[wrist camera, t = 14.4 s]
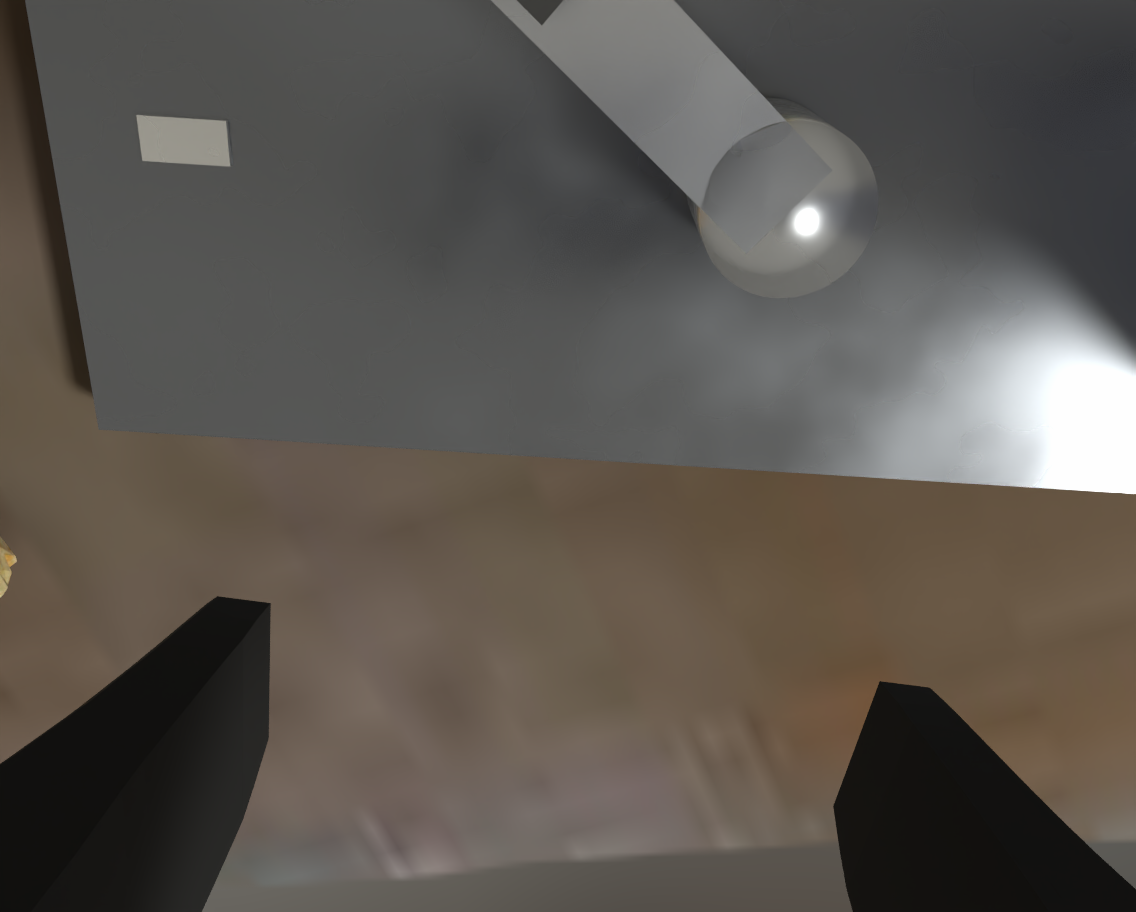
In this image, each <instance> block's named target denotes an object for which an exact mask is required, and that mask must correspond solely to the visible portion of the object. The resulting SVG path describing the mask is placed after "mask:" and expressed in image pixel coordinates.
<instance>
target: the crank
mask: <svg viewBox="0 0 1136 912" xmlns="http://www.w3.org/2000/svg"><path fill="white" fill-rule="evenodd" d="M491 1H492V2H493V3H494V4H495V5H496V6H497V7H498V8H499V9H500V10H501V11H502V12H503V13H504V14H505V15H506V16H507V17H508V18H509V19H510V20H511V21H512V22H513V23H514V24H515V25H516V26H517V27H518V28H519V29H520V30H521V31H522V32H523V33H524V34H525V35H526V36H527V37H528V38H529V39H530V40H531V41H533V42H534V43H535V44H536V45H537V46H538V47H539V48H540V49H541V50H542V51H543V52H544V53H545V54H546V55H547V56H548V57H549V58H550V59H551V60H552V61H553V62H554V63H555V64H556V65H557V66H558V67H559V68H560V69H561V70H562V71H563V72H564V73H565V74H566V75H567V76H568V77H569V78H570V79H571V80H572V81H573V82H574V83H575V84H576V85H577V86H578V87H579V88H580V89H581V90H582V91H583V92H584V93H585V94H586V95H587V96H588V97H589V98H590V99H591V100H592V101H593V102H594V103H595V104H596V105H597V106H598V107H599V108H600V109H601V110H602V111H603V112H604V113H605V114H606V115H607V116H608V117H609V118H610V119H611V120H612V121H613V122H614V123H615V124H616V125H617V126H618V127H619V128H620V129H621V130H622V131H623V132H624V133H625V134H626V135H627V136H628V137H629V138H630V139H631V140H632V141H633V142H634V143H635V144H636V145H637V146H638V147H639V148H640V149H641V150H642V151H643V152H644V153H645V154H646V155H647V156H648V157H649V158H650V159H651V160H652V161H653V162H654V163H655V164H656V165H657V166H658V167H659V168H660V169H661V170H662V171H663V172H664V173H665V174H666V175H667V176H668V177H669V178H670V179H671V180H672V181H673V182H674V183H675V184H677V185H678V186H679V187H680V188H681V189H682V190H683V191H684V192H685V193H686V197H687V202H688V205H689V208H690V211H691V214H692V216H693V219H694V221H695V224H696V226H697V229H698V231H699V234H700V236H701V239H702V241H703V244H704V246H705V249H706V251H707V253H708V255H709V257H710V259H711V261H712V262H713V264H714V265H715V267H716V268H717V269H718V270H719V271H720V272H721V274H722V275H723V276H724V277H725V278H727V279H728V280H729V281H730V282H731V283H733V284H734V285H736V286H738V287H739V288H741V289H743V290H745V291H747V292H750V293H752V294H756V295H759V296H763V297H769V298H792V297H798V296H803V295H807V294H809V293H812V292H815V291H818V290H820V289H822V288H824V287H826V286H828V285H829V284H831V283H832V282H834V281H836V280H837V279H838V278H840V277H841V276H842V275H843V274H844V273H846V272H847V271H848V270H849V269H850V268H851V267H852V266H853V265H854V263H855V262H856V261H857V260H858V258H859V257H860V256H861V254H862V253H863V251H864V249H865V248H866V246H867V244H868V242H869V240H870V238H871V236H872V233H873V230H874V227H875V224H876V219H877V213H878V188H877V183H876V179H875V175H874V172H873V170H872V167H871V165H870V163H869V161H868V160H867V158H866V156H865V155H864V153H863V152H862V151H861V149H860V148H859V147H858V146H857V145H856V144H855V143H854V142H853V141H852V140H851V139H850V138H848V137H847V136H846V135H844V134H843V133H841V132H840V131H838V130H837V129H836V128H834V127H833V126H831V125H830V124H828V123H827V122H826V121H824V120H823V119H821V118H820V117H818V116H817V115H816V114H814V113H813V112H811V111H810V110H808V109H807V108H805V107H803V106H801V105H799V104H797V103H795V102H792V101H789V100H784V99H779V98H765V97H764V96H763V95H762V94H761V93H760V92H759V91H758V90H757V89H756V88H755V87H754V86H753V85H752V84H751V82H750V81H749V80H748V79H747V78H746V77H745V76H744V75H743V74H742V73H741V72H740V71H739V70H738V69H737V67H736V66H735V65H734V64H733V63H732V62H731V61H730V60H729V59H728V58H727V57H726V56H725V55H724V54H723V52H722V51H721V50H720V49H719V48H718V47H717V46H716V45H715V44H714V43H713V42H712V41H711V40H710V39H709V37H708V36H707V35H706V34H705V33H704V32H703V31H702V30H701V29H700V28H699V27H698V26H697V25H696V24H695V23H694V21H693V20H692V19H691V18H690V17H689V16H688V15H687V14H686V13H685V12H684V11H683V10H682V9H681V8H680V6H679V5H678V4H677V3H676V2H675V1H674V0H491Z"/></svg>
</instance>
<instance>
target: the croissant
mask: <svg viewBox="0 0 1136 912" xmlns="http://www.w3.org/2000/svg"><path fill="white" fill-rule="evenodd" d="M15 562H17V560H16V557H15V555H14V554H13V552H12V551H11V550H10V548H9V547H8V546H7V544H6V543H5V542H4V541H3V539H2V538H1V537H0V597H2V595H3V594H4V592H5V591H6V590H7V588H8V583H9V580H10V577H11V573H12V572H11V569H10V567H11V566H12V565H13V564H14V563H15Z"/></svg>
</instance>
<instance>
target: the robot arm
mask: <svg viewBox="0 0 1136 912" xmlns="http://www.w3.org/2000/svg"><path fill="white" fill-rule="evenodd" d="M270 604H271V603H265V602H257V601H249V600H241V599H233V598H226V597H218V596H217V597H216V598H214V599H213V600H212V601H210V602H209V603H207V604H206V605H205V606H204V607H202V608H201V609H200V610H199V611H198V612H196V613H195V614H194V615H193V616H192V617H190V618H189V619H188V620H187V621H186V622H184V623H183V624H182V625H181V626H180V627H178V628H177V629H176V630H175V631H174V632H173V633H171V634H170V635H169V636H168V637H167V638H165V639H164V640H163V641H162V642H161V643H159V644H158V645H157V646H156V647H155V648H153V649H152V650H151V651H150V652H148V653H147V654H146V655H145V656H144V657H142V658H141V659H140V660H139V661H138V662H136V663H135V664H134V665H133V666H131V667H130V668H129V669H128V670H126V671H125V672H124V673H123V674H121V675H120V676H119V677H117V678H116V679H115V680H114V681H112V682H111V683H110V684H108V685H107V686H106V687H105V688H103V689H102V690H101V691H100V692H98V693H97V694H96V695H94V696H93V697H92V698H91V699H89V700H88V701H87V702H86V703H84V704H83V705H82V706H80V707H79V708H78V709H76V710H75V711H74V712H72V713H71V714H70V715H68V716H67V717H66V718H64V719H63V720H61V721H60V722H59V723H57V724H56V725H54V726H53V727H52V728H50V729H49V730H47V731H46V732H45V733H43V734H42V735H40V736H39V737H38V738H36V739H35V740H33V741H32V742H31V743H29V744H28V745H26V746H25V747H23V748H22V749H21V750H19V751H18V752H16V753H15V754H14V755H12V756H11V757H9V758H8V759H7V760H5V761H4V762H2V763H1V764H0V912H202V910H203V908H204V906H205V903H206V901H207V899H208V897H209V895H210V892H211V890H212V888H213V886H214V883H215V881H216V879H217V877H218V875H219V872H220V870H221V868H222V866H223V863H224V861H225V859H226V857H227V854H228V852H229V850H230V848H231V845H232V843H233V841H234V839H235V836H236V834H237V832H238V830H239V827H240V825H241V823H242V820H243V818H244V815H245V812H246V809H247V806H248V802H249V799H250V796H251V793H252V790H253V787H254V784H255V781H256V778H257V774H258V771H259V768H260V764H261V761H262V758H263V755H264V751H265V748H266V745H267V742H268V738H269V672H270ZM833 807H834V814H835V821H836V827H837V834H838V841H839V848H840V854H841V860H842V866H843V871H844V877H845V882H846V888H847V892H848V896H849V899H850V903H851V906H852V910H853V912H1136V889H1135V888H1134V887H1133V886H1131V885H1130V884H1129V883H1128V882H1127V881H1126V880H1125V879H1124V878H1123V877H1122V876H1120V875H1119V874H1118V873H1117V872H1116V871H1115V870H1114V869H1113V868H1112V867H1111V866H1109V865H1108V864H1107V863H1106V862H1105V861H1104V860H1103V859H1102V858H1101V857H1100V856H1099V855H1098V854H1096V853H1095V852H1094V851H1093V850H1092V849H1091V848H1090V847H1089V846H1088V845H1087V844H1086V843H1085V842H1084V841H1083V840H1082V839H1081V838H1080V837H1079V836H1078V835H1077V834H1076V833H1074V832H1073V831H1072V830H1071V829H1070V828H1069V827H1068V826H1067V825H1066V824H1065V823H1064V822H1063V821H1062V820H1061V819H1060V818H1059V817H1058V816H1057V815H1056V814H1055V813H1054V812H1053V811H1052V810H1051V809H1050V808H1049V807H1048V806H1047V805H1046V804H1045V803H1044V802H1043V801H1042V800H1041V799H1040V798H1039V797H1038V796H1037V795H1036V794H1035V793H1034V792H1033V791H1032V790H1031V789H1030V788H1029V787H1028V786H1027V785H1026V784H1025V783H1024V782H1023V781H1022V780H1021V779H1020V778H1019V777H1018V776H1017V775H1016V774H1015V773H1014V772H1013V771H1012V770H1011V769H1010V768H1009V767H1008V765H1007V764H1006V763H1005V762H1004V761H1003V760H1002V759H1001V758H1000V757H999V756H998V755H997V754H996V753H995V752H994V751H993V750H992V749H991V748H990V747H989V746H988V745H987V744H986V743H985V742H984V741H983V740H982V739H981V738H980V737H979V736H978V735H977V734H976V733H975V732H974V731H973V730H972V729H971V728H970V726H969V725H968V724H967V723H966V722H965V721H964V720H963V719H962V718H961V717H960V716H959V715H958V714H957V713H956V712H955V711H954V710H953V709H952V708H951V707H950V706H949V705H948V704H947V703H946V702H944V701H943V700H942V699H941V698H940V697H939V696H938V695H937V694H936V693H935V692H934V691H933V690H932V689H931V688H928V687H920V686H912V685H904V684H897V683H889V682H881V681H880V682H879V685H878V688H877V690H876V693H875V696H874V698H873V701H872V704H871V706H870V709H869V712H868V715H867V717H866V720H865V723H864V725H863V728H862V731H861V733H860V736H859V739H858V741H857V744H856V747H855V750H854V752H853V755H852V758H851V760H850V763H849V766H848V768H847V771H846V774H845V776H844V779H843V782H842V785H841V787H840V790H839V793H838V795H837V798H836V801H835V803H834V806H833Z"/></svg>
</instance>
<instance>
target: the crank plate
mask: <svg viewBox="0 0 1136 912" xmlns="http://www.w3.org/2000/svg"><path fill="white" fill-rule="evenodd" d="M674 1H675V2H676V3H677V4H678V5H679V6H680V8H681V9H682V10H683V11H684V12H685V13H686V14H687V15H688V16H689V17H690V18H691V19H692V20H693V21H694V23H695V24H696V25H697V26H698V27H699V28H700V29H701V30H702V31H703V32H704V33H705V34H706V35H707V36H708V37H709V39H710V40H711V41H712V42H713V43H714V44H715V45H716V46H717V47H718V48H719V49H720V50H721V51H722V52H723V54H724V55H725V56H726V57H727V58H728V59H729V60H730V61H731V62H732V63H733V64H734V65H735V66H736V67H737V69H738V70H739V71H740V72H741V73H742V74H743V75H744V76H745V77H746V78H747V79H748V80H749V81H750V82H751V84H752V85H753V86H754V87H755V88H756V89H757V90H758V91H759V92H760V93H761V94H762V95H763V96H764V97H765V98H779V99H784V100H789V101H792V102H795V103H797V104H799V105H801V106H803V107H805V108H807V109H808V110H810V111H811V112H813V113H814V114H816V115H817V116H818V117H820V118H821V119H823V120H824V121H826V122H827V123H828V124H830V125H831V126H833V127H834V128H836V129H837V130H838V131H840V132H841V133H843V134H844V135H846V136H847V137H848V138H850V139H851V140H852V141H853V142H854V143H855V144H856V145H857V146H858V147H859V148H860V149H861V151H862V152H863V153H864V155H865V156H866V158H867V160H868V161H869V163H870V165H871V167H872V170H873V172H874V175H875V179H876V183H877V188H878V213H877V219H876V224H875V227H874V230H873V233H872V236H871V238H870V240H869V242H868V244H867V246H866V248H865V249H864V251H863V253H862V254H861V256H860V257H859V258H858V260H857V261H856V262H855V263H854V265H853V266H852V267H851V268H850V269H849V270H848V271H847V272H846V273H844V274H843V275H842V276H841V277H840V278H838V279H837V280H836V281H834V282H832V283H831V284H829V285H828V286H826V287H824V288H822V289H820V290H818V291H815V292H812V293H809V294H807V295H803V296H798V297H792V298H769V297H763V296H759V295H756V294H752V293H750V292H747V291H745V290H743V289H741V288H739V287H738V286H736V285H734V284H733V283H731V282H730V281H729V280H728V279H727V278H725V277H724V276H723V275H722V274H721V272H720V271H719V270H718V269H717V268H716V267H715V265H714V264H713V262H712V261H711V259H710V257H709V255H708V253H707V251H706V249H705V246H704V244H703V241H702V239H701V236H700V234H699V231H698V229H697V226H696V224H695V221H694V219H693V216H692V214H691V211H690V208H689V205H688V202H687V197H686V193H685V192H684V191H683V190H682V189H681V188H680V187H679V186H678V185H677V184H675V183H674V182H673V181H672V180H671V179H670V178H669V177H668V176H667V175H666V174H665V173H664V172H663V171H662V170H661V169H660V168H659V167H658V166H657V165H656V164H655V163H654V162H653V161H652V160H651V159H650V158H649V157H648V156H647V155H646V154H645V153H644V152H643V151H642V150H641V149H640V148H639V147H638V146H637V145H636V144H635V143H634V142H633V141H632V140H631V139H630V138H629V137H628V136H627V135H626V134H625V133H624V132H623V131H622V130H621V129H620V128H619V127H618V126H617V125H616V124H615V123H614V122H613V121H612V120H611V119H610V118H609V117H608V116H607V115H606V114H605V113H604V112H603V111H602V110H601V109H600V108H599V107H598V106H597V105H596V104H595V103H594V102H593V101H592V100H591V99H590V98H589V97H588V96H587V95H586V94H585V93H584V92H583V91H582V90H581V89H580V88H579V87H578V86H577V85H576V84H575V83H574V82H573V81H572V80H571V79H570V78H569V77H568V76H567V75H566V74H565V73H564V72H563V71H562V70H561V69H560V68H559V67H558V66H557V65H556V64H555V63H554V62H553V61H552V60H551V59H550V58H549V57H548V56H547V55H546V54H545V53H544V52H543V51H542V50H541V49H540V48H539V47H538V46H537V45H536V44H535V43H534V42H533V41H531V40H530V39H529V38H528V37H527V36H526V35H525V34H524V33H523V32H522V31H521V30H520V29H519V28H518V27H517V26H516V25H515V24H514V23H513V22H512V21H511V20H510V19H509V18H508V17H507V16H506V15H505V14H504V13H503V12H502V11H501V10H500V9H499V8H498V7H497V6H496V5H495V4H494V3H493V2H492V1H491V0H25V3H26V9H27V15H28V20H29V26H30V32H31V38H32V44H33V50H34V55H35V61H36V67H37V73H38V79H39V84H40V90H41V96H42V102H43V108H44V114H45V119H46V125H47V131H48V137H49V143H50V148H51V154H52V160H53V166H54V172H55V178H56V183H57V189H58V195H59V201H60V207H61V212H62V218H63V224H64V230H65V236H66V242H67V247H68V253H69V259H70V265H71V271H72V276H73V282H74V288H75V294H76V300H77V306H78V311H79V317H80V323H81V329H82V335H83V340H84V346H85V352H86V358H87V364H88V370H89V375H90V381H91V387H92V393H93V399H94V404H95V410H96V416H97V422H98V428H99V429H100V430H116V431H132V432H148V433H164V434H181V435H197V436H213V437H229V438H245V439H261V440H277V441H293V442H309V443H325V444H342V445H358V446H374V447H390V448H406V449H422V450H438V451H454V452H470V453H487V454H503V455H519V456H535V457H551V458H567V459H583V460H599V461H615V462H632V463H648V464H664V465H680V466H696V467H712V468H728V469H744V470H760V471H777V472H793V473H809V474H825V475H841V476H857V477H873V478H889V479H905V480H922V481H938V482H954V483H970V484H986V485H1002V486H1018V487H1034V488H1050V489H1067V490H1083V491H1099V492H1115V493H1131V494H1136V0H674Z"/></svg>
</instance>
